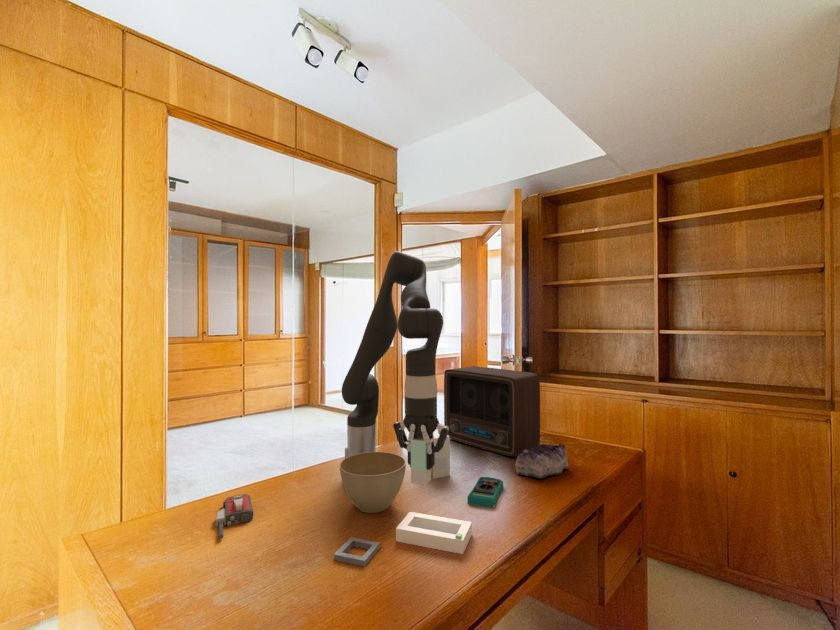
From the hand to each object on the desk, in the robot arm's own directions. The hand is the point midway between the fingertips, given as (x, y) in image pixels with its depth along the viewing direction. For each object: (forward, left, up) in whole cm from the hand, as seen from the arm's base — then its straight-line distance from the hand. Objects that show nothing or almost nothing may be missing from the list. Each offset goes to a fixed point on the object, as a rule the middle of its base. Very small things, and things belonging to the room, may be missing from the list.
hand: (421, 467), depth 98 cm
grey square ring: (-12, -10, -17) cm, 23 cm away
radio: (+1, +76, -17) cm, 78 cm away
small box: (-10, +41, -17) cm, 46 cm away
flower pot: (-19, +12, -17) cm, 28 cm away
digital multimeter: (+9, +30, -18) cm, 36 cm away
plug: (0, 0, -3) cm, 3 cm away
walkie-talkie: (-49, -6, -18) cm, 53 cm away
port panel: (+2, +2, -17) cm, 18 cm away
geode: (+24, +54, -18) cm, 62 cm away
